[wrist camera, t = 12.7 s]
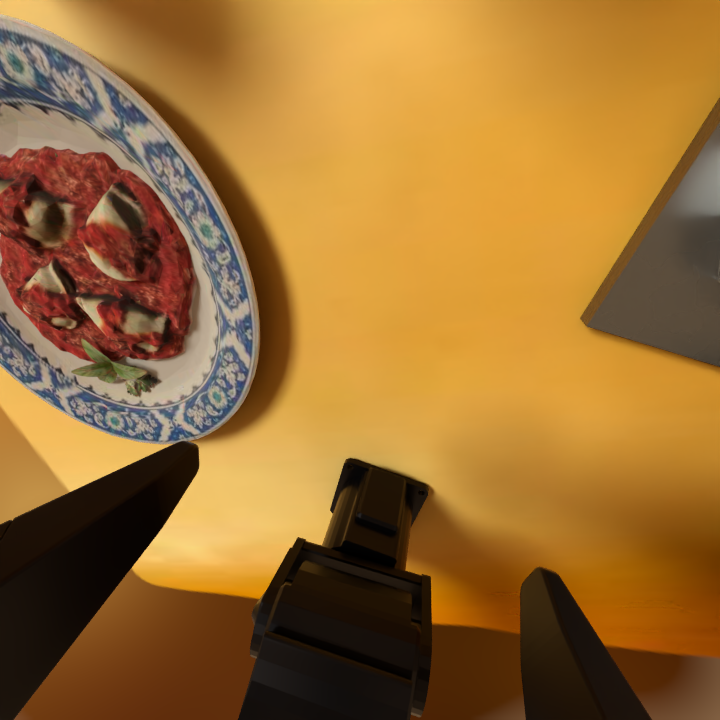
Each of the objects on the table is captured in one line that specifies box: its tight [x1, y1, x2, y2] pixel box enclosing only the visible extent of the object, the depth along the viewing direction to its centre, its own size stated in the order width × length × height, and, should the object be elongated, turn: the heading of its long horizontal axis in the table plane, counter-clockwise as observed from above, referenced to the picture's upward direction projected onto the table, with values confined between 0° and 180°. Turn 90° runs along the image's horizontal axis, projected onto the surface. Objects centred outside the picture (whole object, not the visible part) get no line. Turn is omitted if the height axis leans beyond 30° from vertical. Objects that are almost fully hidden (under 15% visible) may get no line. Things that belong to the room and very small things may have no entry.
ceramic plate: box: [0, 14, 260, 444], centre depth 23 cm, size 26×26×3 cm
